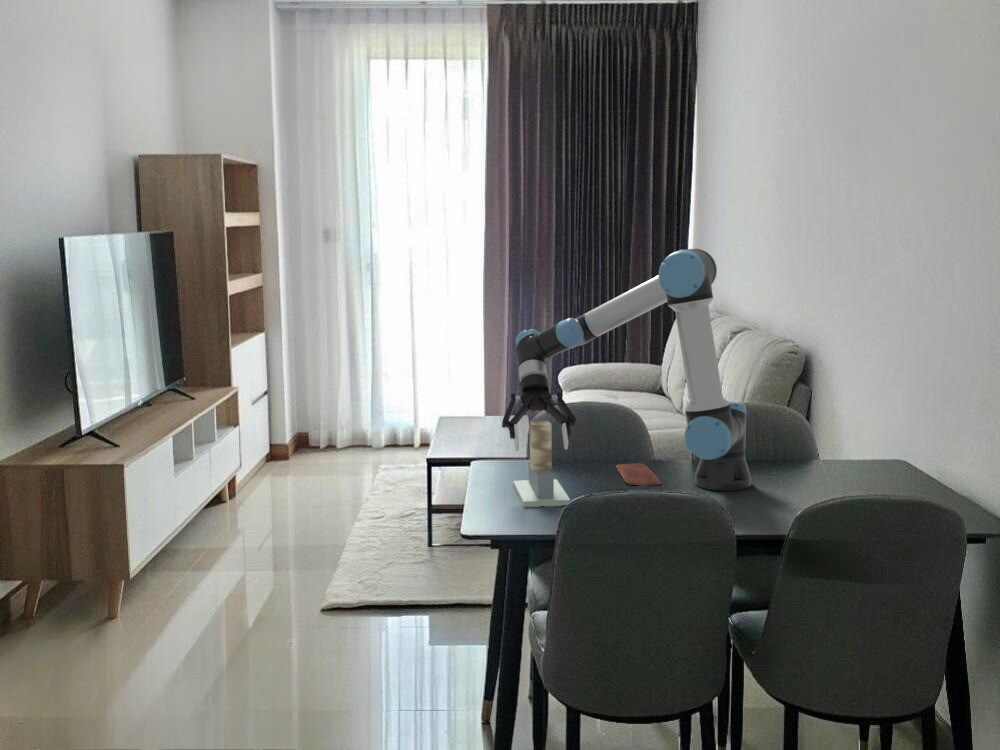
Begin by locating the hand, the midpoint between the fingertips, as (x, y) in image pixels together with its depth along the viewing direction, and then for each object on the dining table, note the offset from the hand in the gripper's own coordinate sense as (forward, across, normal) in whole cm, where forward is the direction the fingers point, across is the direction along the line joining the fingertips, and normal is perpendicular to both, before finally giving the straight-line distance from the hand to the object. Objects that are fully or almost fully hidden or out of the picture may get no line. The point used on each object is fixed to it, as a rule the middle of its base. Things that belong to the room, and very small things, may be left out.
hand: (542, 447), depth 285 cm
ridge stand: (+8, 0, -11) cm, 14 cm away
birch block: (+2, 0, -6) cm, 7 cm away
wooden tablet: (-6, -31, -26) cm, 40 cm away
